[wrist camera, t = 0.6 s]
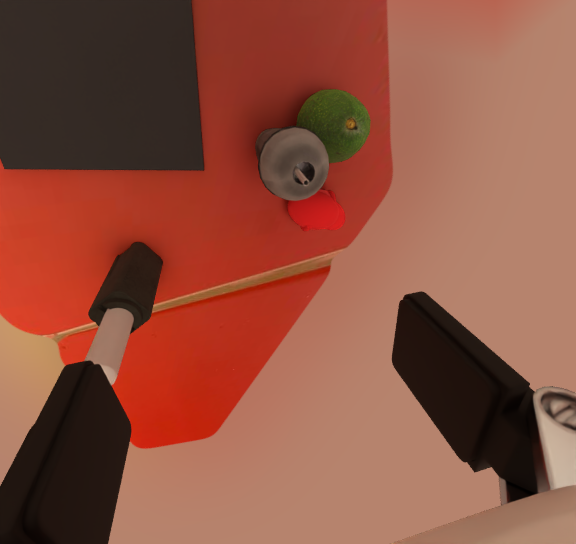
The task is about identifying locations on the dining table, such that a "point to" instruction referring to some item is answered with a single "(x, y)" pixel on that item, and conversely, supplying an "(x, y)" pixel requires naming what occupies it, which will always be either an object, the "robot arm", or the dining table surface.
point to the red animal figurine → (317, 211)
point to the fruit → (336, 122)
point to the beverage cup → (291, 162)
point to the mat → (99, 85)
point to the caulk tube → (123, 305)
